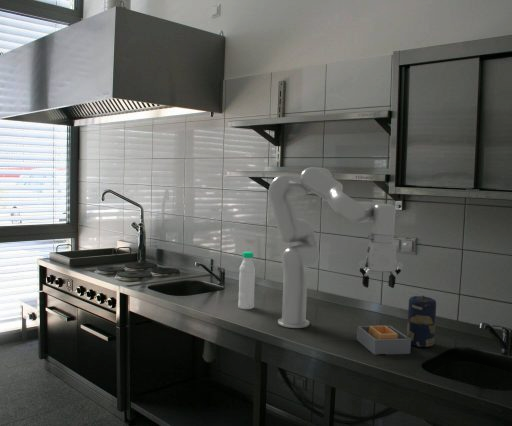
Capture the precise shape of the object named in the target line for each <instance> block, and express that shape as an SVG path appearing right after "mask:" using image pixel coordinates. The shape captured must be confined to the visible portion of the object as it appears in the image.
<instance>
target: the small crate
mask: <svg viewBox="0 0 512 426" xmlns="http://www.w3.org/2000/svg"><path fill="white" fill-rule="evenodd" d="M387 326H388V325H369V334H370V335H371V336H373V337H374V338H375V339H377V340H378V339H398V334H397V333H396V332H394V331H393V330H391V329H390V328H388V327H387Z"/></svg>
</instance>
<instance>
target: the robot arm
mask: <svg viewBox="0 0 512 426" xmlns="http://www.w3.org/2000/svg"><path fill="white" fill-rule="evenodd" d="M343 187H344V186H343V184H342V183H341V182H340V181H339V180H336V179H335V178H333V175H332V173H331V171H330V170H329V169H327V168H325V167H316V166H310V167H307V168H304V170H303V171H302V172H301V174H295V175H294V174H282V175H279V176H276V177H275V178H273V180H272V181H271V182H270V184H269V188H268V200H269V203H270V206H271V208H272V212H273V216H274V219H275V225H276V227H277V232H278V235H279V237H280V240H281V241H282V242H283V243H285V244H296V245H292V246H288V247H286V249H285V250H284V251H283V252H282V254H281V263H282V264H281V265H282V272H283V275H282V277H283V279H282V280H283V281H282V283H283V284H282V285H283V286H282V303H281V304H282V305H281V307H282V308H281V310H282V311H281V318H278V319H277V323H278V325H279V326H282V327H284V328H289V329H301V328H302V329H303V328H307V327H309V326H310V321H309V320H308V319H306V318H307V317H306V315H307V298H308V297H307V295H308V276H307V272H306V269H307V268H312V267H314V266H317V264H318V263H319V261H320V251H319V250H320V248H319V246H318V242H317V238H316V234H315V232H314V228H313V226H312V224H311V223H310V221H308V220H306V219H303V218H298V216H297V214H296V210H295V207H294V205H293V203H292V201H291V200H290V199H289V197H302V196H307V195H310V194H312V193H313V194H315V195H317V196H318V197H319V198H321V199H323V200H324V201H326V202H327V203H328V204H329V206H330V207H331V210H332V211H334V212H335V213H337V214H338V215H339V216H341V217H342V218H344V219H345V220H347V221H349V222H350V223H354V224H362V223H372V225H371V234H369V235H368V236H367V239H368V240H370V241H369V242H368V245H367V250H366V254H365V255H366V256H365V258H364V259H362V260H359V261H357V262H356V267H357V268H358V271H359V273H361V275H362V279H361V280H362V282H361V283H362V286H363V287H365V288H366V289H367V288H369V283H370V276H369V275H370V274H371V272H372V273H373V272H374V273H389V276H388V287H390V288H392V289H394V288H395V285H396V277H397V276H398V275H399V274H400V273H401V272H402V270H403V268H404V266H405V265H404V264H403V263H401V262H400V261H399V260H397V247H396V244H395V243H394V235H395V221H396V211H397V210H396V209H397V208H396V206H395V205H394V204H390V203H378V202H373V201H357V200H355V199H353V198H351V197H350V196H348V195H347V194H345V193H344V192H343V190H344V189H343ZM364 265H365V268H363V266H364Z"/></svg>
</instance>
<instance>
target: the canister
mask: <svg viewBox="0 0 512 426" xmlns="http://www.w3.org/2000/svg"><path fill="white" fill-rule="evenodd" d="M407 311H408V312H407V328H406V336H407V337H408V338H410V339H411V345H412V346H414V347H419V348H429V347H433V346H434V345H435V337H436V333H435V332H436V326H437V325H436V321H437V320H436V314H437V301H436V300H435V299H434V298H432V297H429V296H425V295H416V296H411V297H409V299H408V310H407Z"/></svg>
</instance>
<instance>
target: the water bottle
mask: <svg viewBox="0 0 512 426" xmlns="http://www.w3.org/2000/svg"><path fill="white" fill-rule="evenodd" d="M253 257H254V252H252V251H243V252H242V262H241V264H240V266H239V268H238V269H239V275H238V276H239V278H238V303H237V307H238V308H239V309H240V310H252V309H253V308H254V307H255V285H256V273H255V272H256V266H255V264H254V261H253V259H254V258H253Z"/></svg>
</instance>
